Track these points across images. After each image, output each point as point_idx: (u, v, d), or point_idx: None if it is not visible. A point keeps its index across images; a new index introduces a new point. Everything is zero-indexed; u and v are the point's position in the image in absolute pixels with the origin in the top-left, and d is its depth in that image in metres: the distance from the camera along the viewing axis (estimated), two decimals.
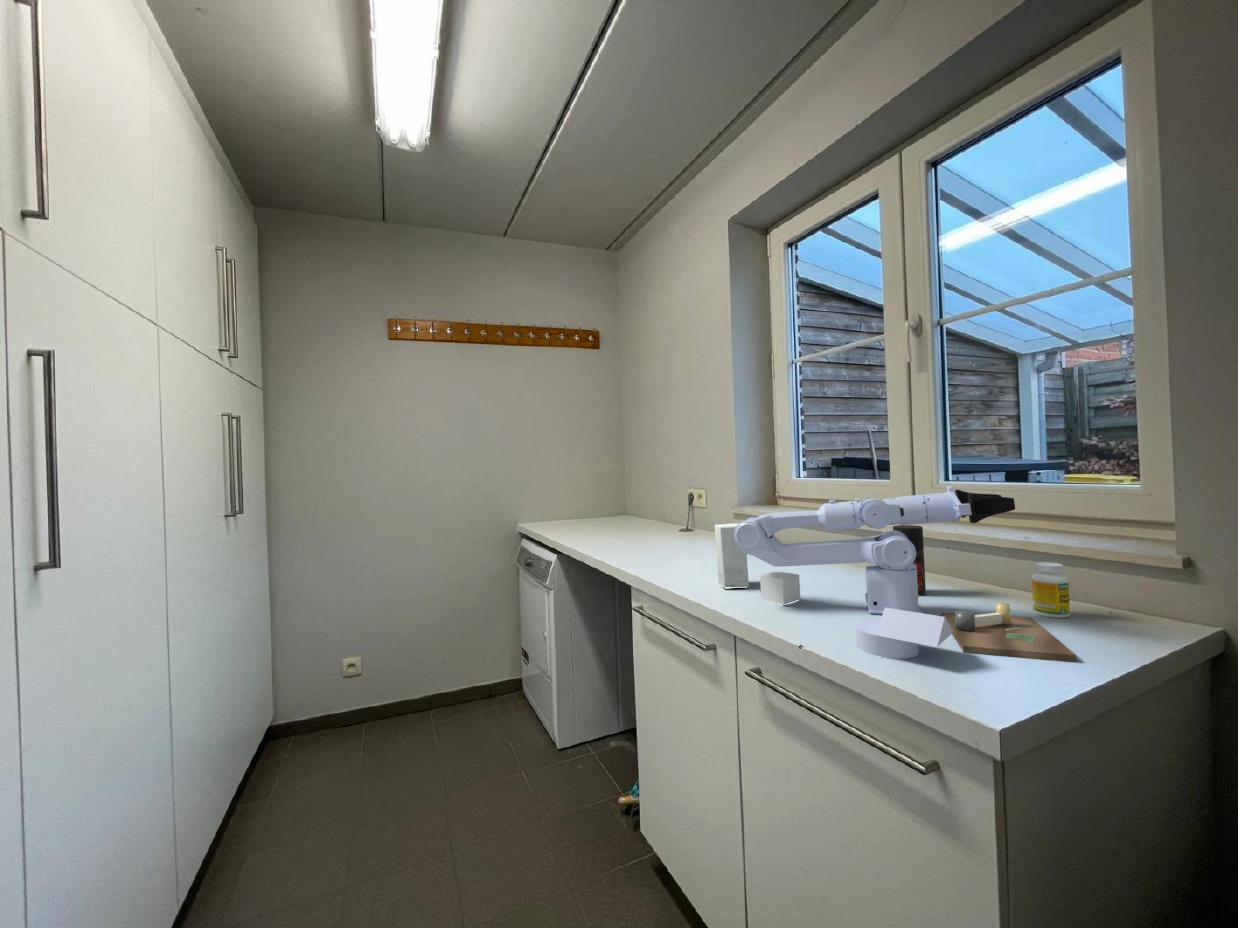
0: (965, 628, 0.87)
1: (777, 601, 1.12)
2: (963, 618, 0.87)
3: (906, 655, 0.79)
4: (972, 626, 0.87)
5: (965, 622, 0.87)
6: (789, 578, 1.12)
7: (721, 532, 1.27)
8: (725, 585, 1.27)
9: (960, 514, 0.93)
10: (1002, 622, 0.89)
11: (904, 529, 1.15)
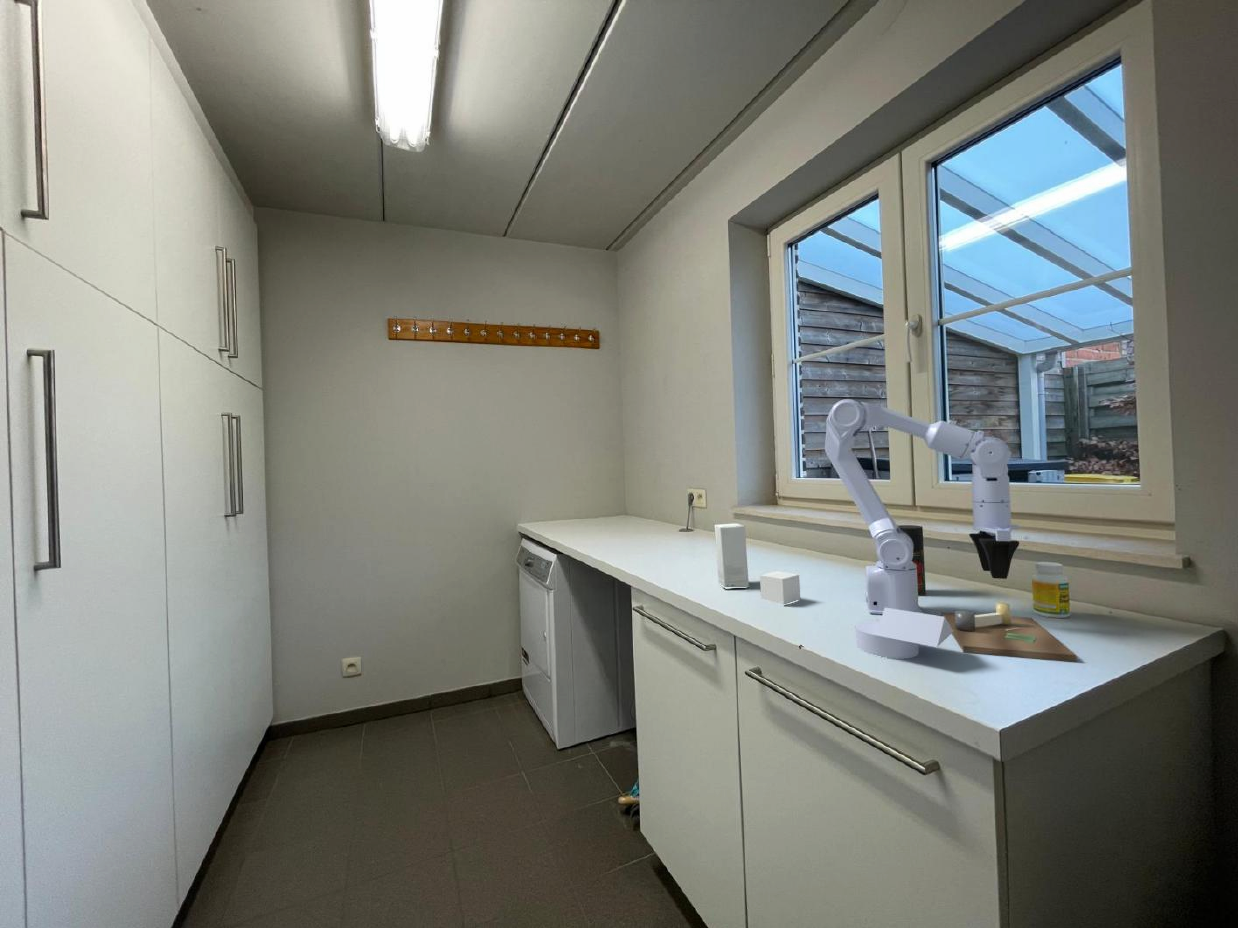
0: (965, 628, 0.87)
1: (777, 601, 1.12)
2: (963, 618, 0.87)
3: (906, 655, 0.79)
4: (972, 626, 0.87)
5: (965, 622, 0.87)
6: (789, 578, 1.12)
7: (721, 532, 1.27)
8: (725, 585, 1.27)
9: (998, 531, 0.89)
10: (1002, 622, 0.89)
11: (904, 529, 1.15)
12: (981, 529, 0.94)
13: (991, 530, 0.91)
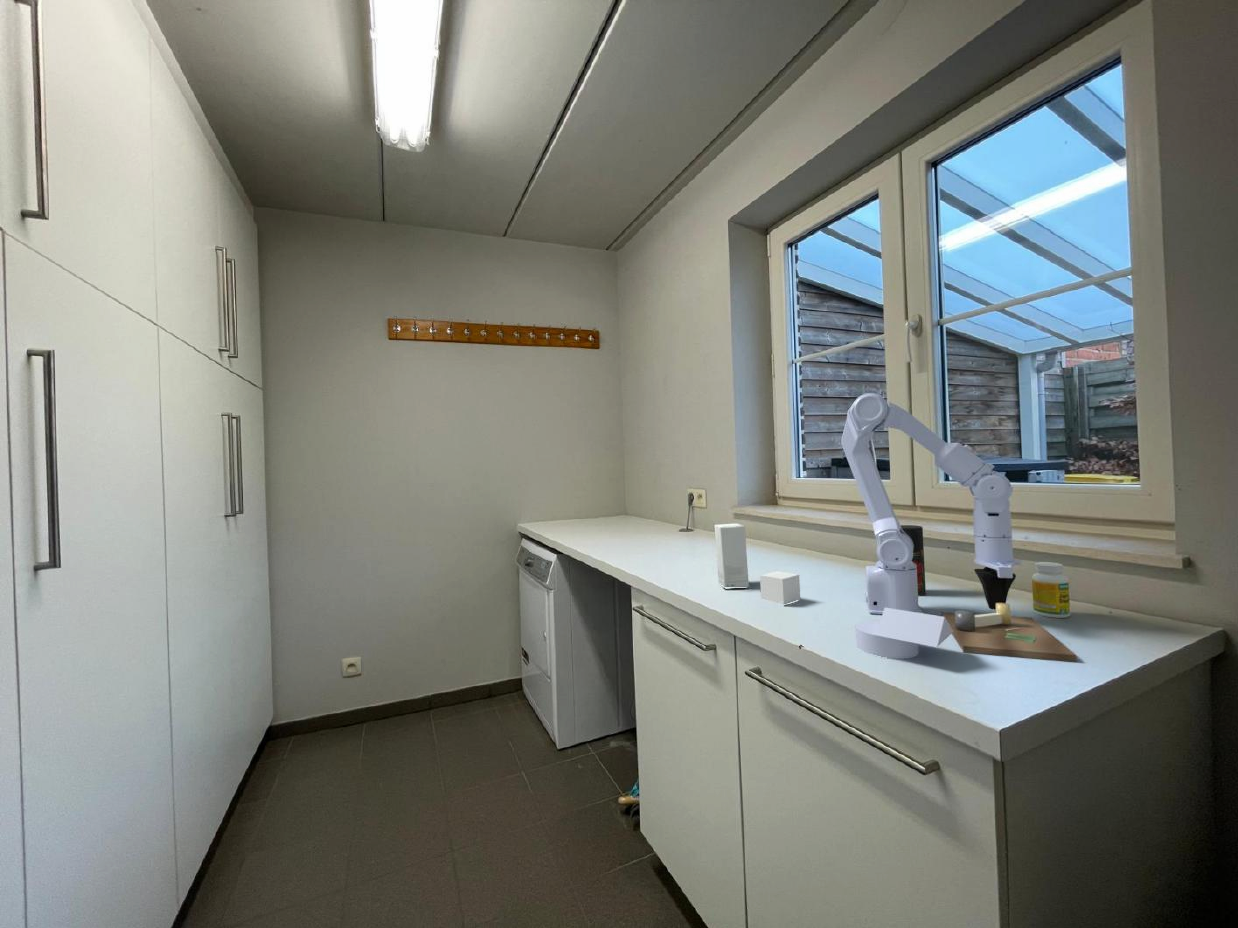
0: (965, 628, 0.87)
1: (777, 601, 1.12)
2: (963, 618, 0.87)
3: (906, 655, 0.79)
4: (972, 626, 0.87)
5: (965, 622, 0.87)
6: (789, 578, 1.12)
7: (721, 532, 1.27)
8: (725, 585, 1.27)
9: (999, 567, 0.89)
10: (1002, 622, 0.89)
11: (904, 529, 1.15)
12: (983, 564, 0.94)
13: (993, 566, 0.91)
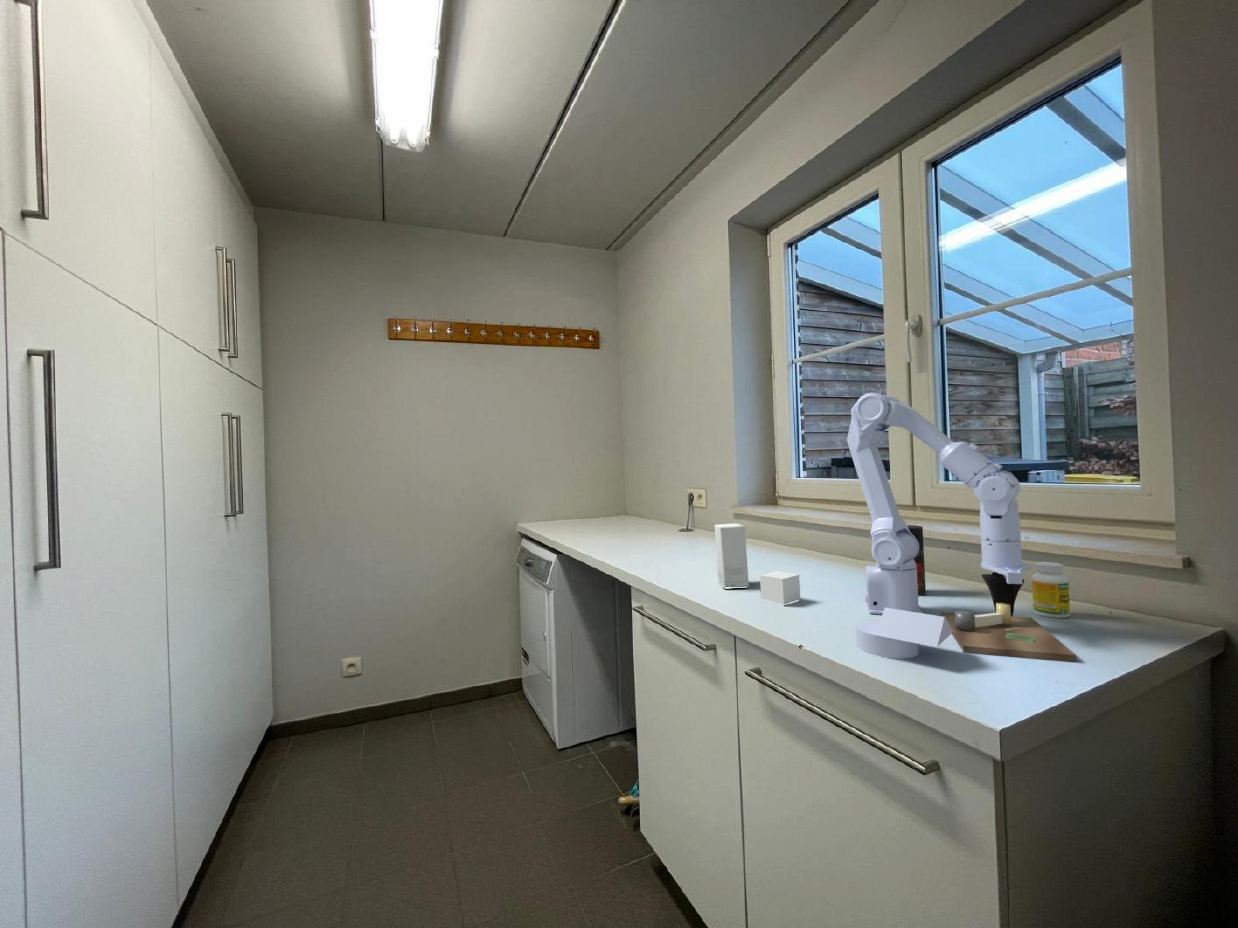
0: (965, 628, 0.87)
1: (777, 601, 1.12)
2: (963, 618, 0.87)
3: (906, 655, 0.79)
4: (972, 626, 0.87)
5: (965, 622, 0.87)
6: (789, 578, 1.12)
7: (721, 532, 1.27)
8: (725, 585, 1.27)
9: (1008, 573, 0.85)
10: (1002, 622, 0.89)
11: None
12: (990, 569, 0.90)
13: (1001, 571, 0.87)
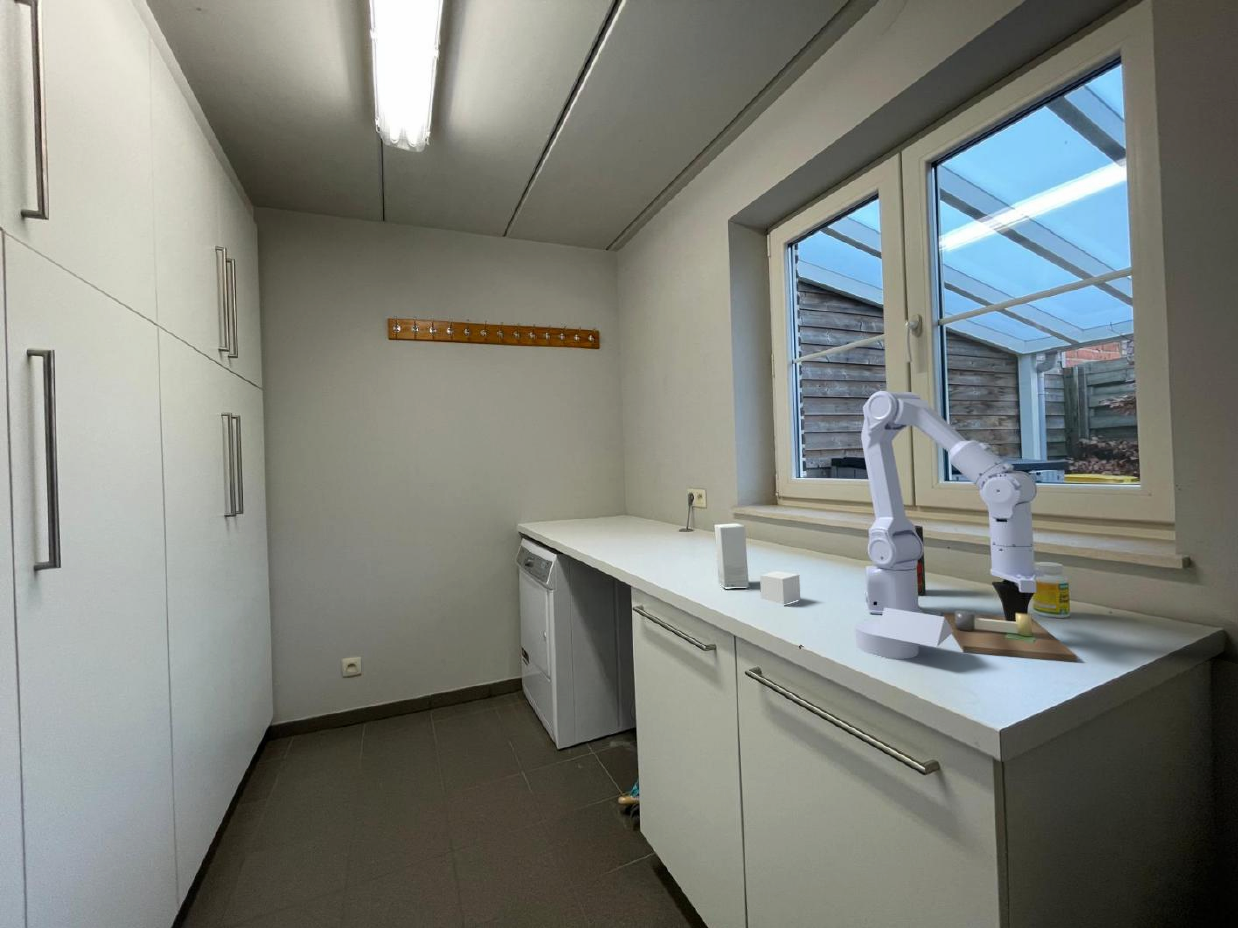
0: (958, 627, 0.88)
1: (777, 601, 1.12)
2: (957, 617, 0.88)
3: (906, 655, 0.79)
4: (966, 626, 0.87)
5: (958, 621, 0.88)
6: (789, 578, 1.12)
7: (721, 532, 1.27)
8: (725, 585, 1.27)
9: (1021, 581, 0.79)
10: (1017, 632, 0.84)
11: None
12: (1001, 576, 0.84)
13: (1013, 579, 0.81)
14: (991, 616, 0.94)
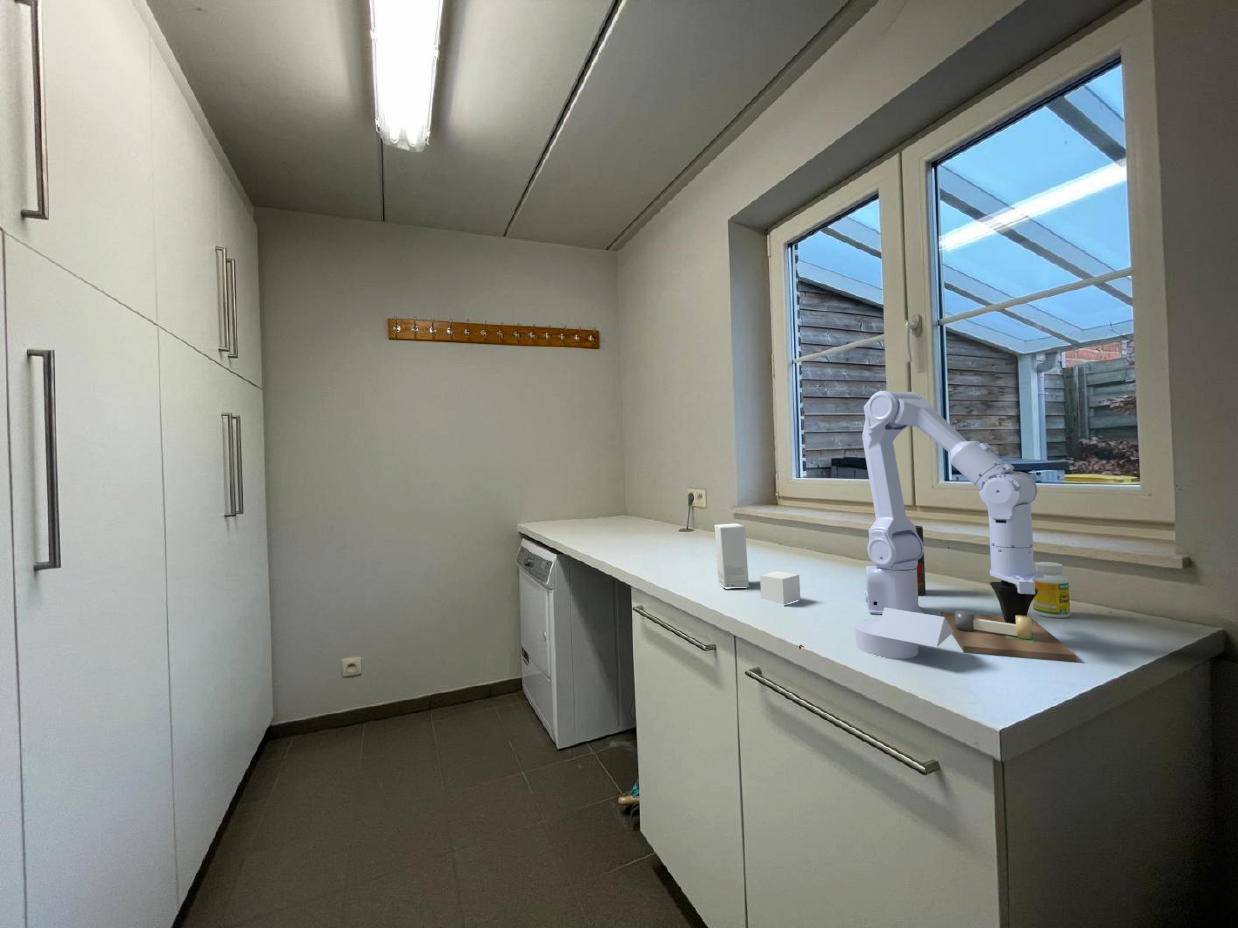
0: (957, 626, 0.88)
1: (777, 601, 1.12)
2: (956, 616, 0.88)
3: (906, 655, 0.79)
4: (964, 626, 0.87)
5: (957, 620, 0.88)
6: (789, 578, 1.12)
7: (721, 532, 1.27)
8: (725, 585, 1.27)
9: (1020, 582, 0.79)
10: (1016, 634, 0.83)
11: None
12: (1000, 577, 0.84)
13: (1012, 580, 0.81)
14: (991, 616, 0.94)
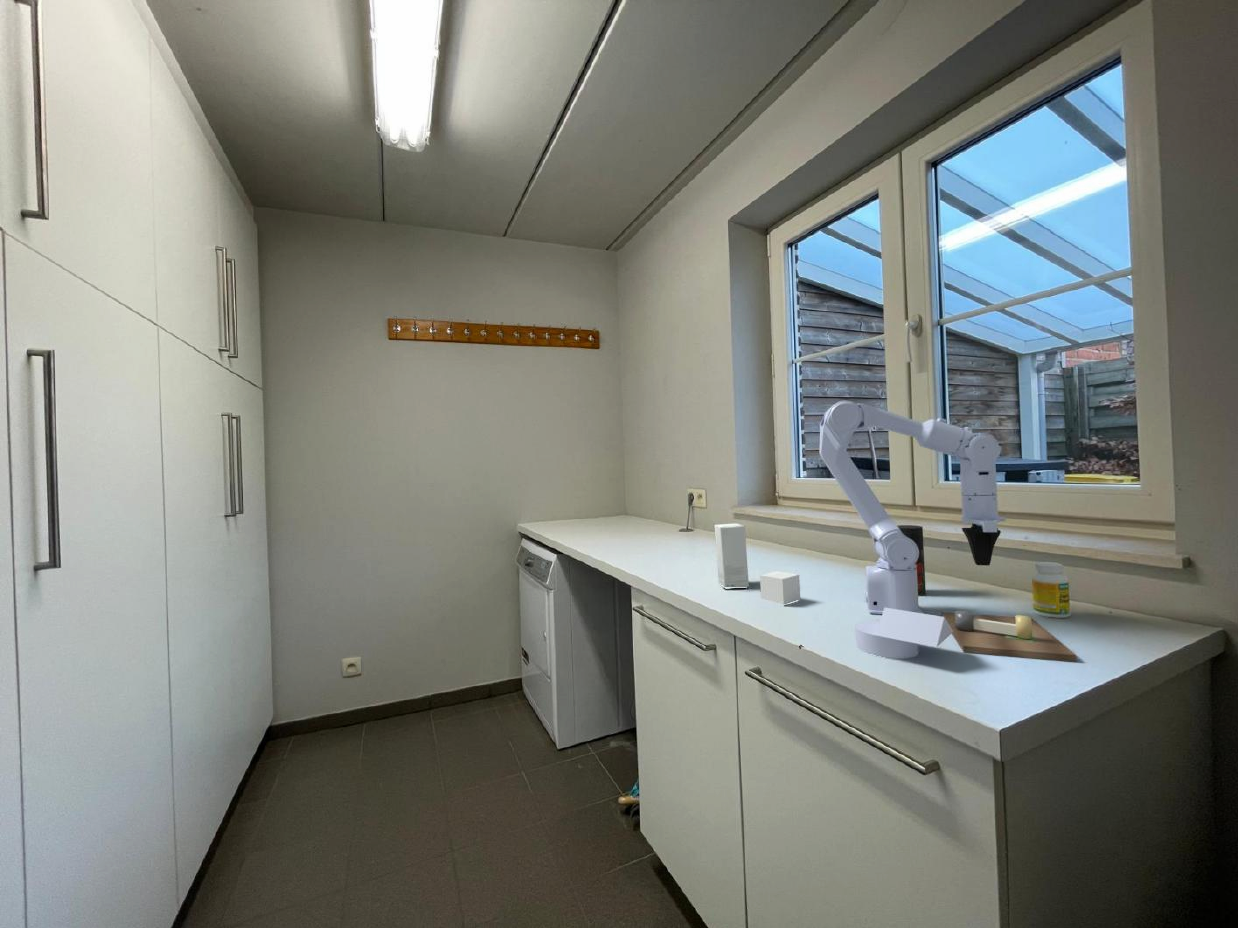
0: (957, 626, 0.88)
1: (777, 601, 1.12)
2: (956, 616, 0.88)
3: (906, 655, 0.79)
4: (964, 626, 0.87)
5: (957, 620, 0.88)
6: (789, 578, 1.12)
7: (721, 532, 1.27)
8: (725, 585, 1.27)
9: (984, 522, 0.93)
10: (1016, 634, 0.83)
11: (904, 529, 1.15)
12: (969, 521, 0.98)
13: (978, 522, 0.95)
14: (991, 616, 0.94)
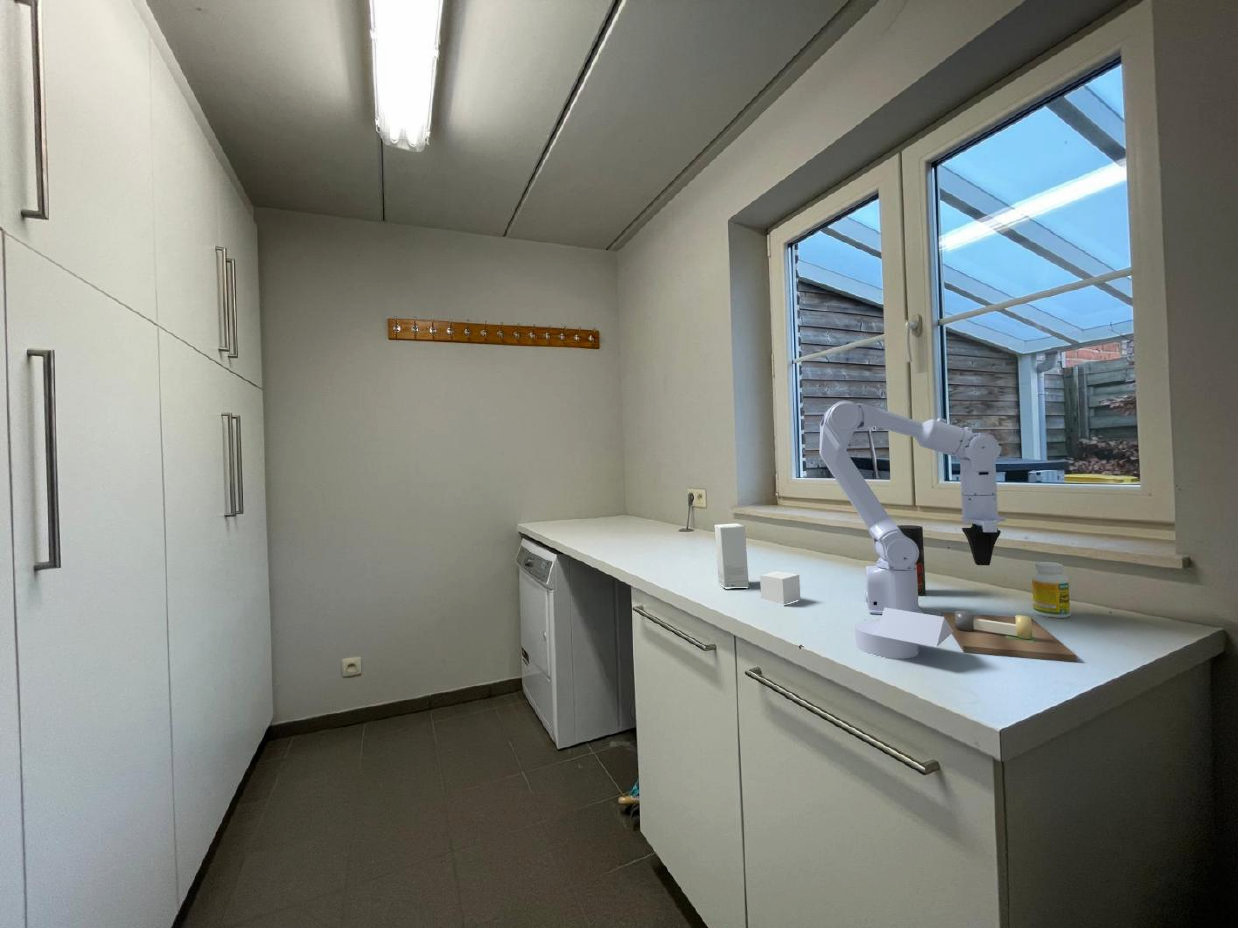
0: (957, 626, 0.88)
1: (777, 601, 1.12)
2: (956, 616, 0.88)
3: (906, 655, 0.79)
4: (964, 626, 0.87)
5: (957, 620, 0.88)
6: (789, 578, 1.12)
7: (721, 532, 1.27)
8: (725, 585, 1.27)
9: (984, 522, 0.93)
10: (1016, 634, 0.83)
11: (904, 529, 1.15)
12: (969, 521, 0.98)
13: (978, 522, 0.95)
14: (991, 616, 0.94)
